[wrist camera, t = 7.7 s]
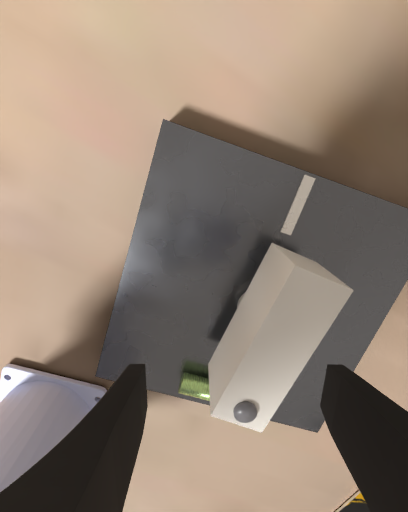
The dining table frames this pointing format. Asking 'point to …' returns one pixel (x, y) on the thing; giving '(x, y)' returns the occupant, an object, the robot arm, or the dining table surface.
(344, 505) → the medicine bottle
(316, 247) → the base
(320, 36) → the dining table surface
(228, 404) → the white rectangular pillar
